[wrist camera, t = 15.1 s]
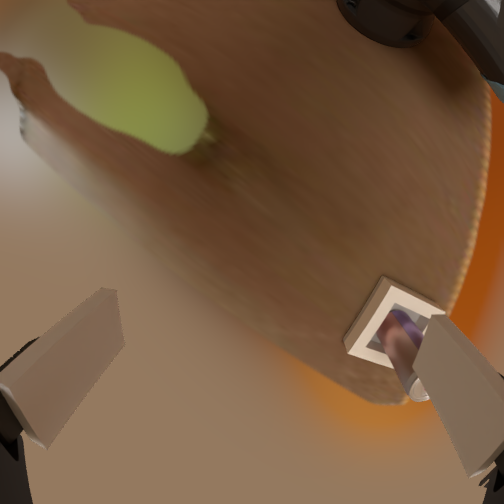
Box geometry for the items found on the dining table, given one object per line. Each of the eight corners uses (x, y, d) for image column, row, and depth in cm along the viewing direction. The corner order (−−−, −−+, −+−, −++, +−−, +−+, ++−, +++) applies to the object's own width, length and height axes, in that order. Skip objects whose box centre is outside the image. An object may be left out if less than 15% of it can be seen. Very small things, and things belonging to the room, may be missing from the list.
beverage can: (407, 303, 39) (452, 358, 25) (409, 333, 40) (448, 391, 26) (372, 315, 40) (408, 378, 26) (377, 345, 41) (407, 409, 27)
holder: (382, 274, 39) (391, 285, 35) (434, 301, 40) (445, 312, 36) (342, 339, 43) (347, 353, 39) (396, 358, 43) (403, 371, 39)
